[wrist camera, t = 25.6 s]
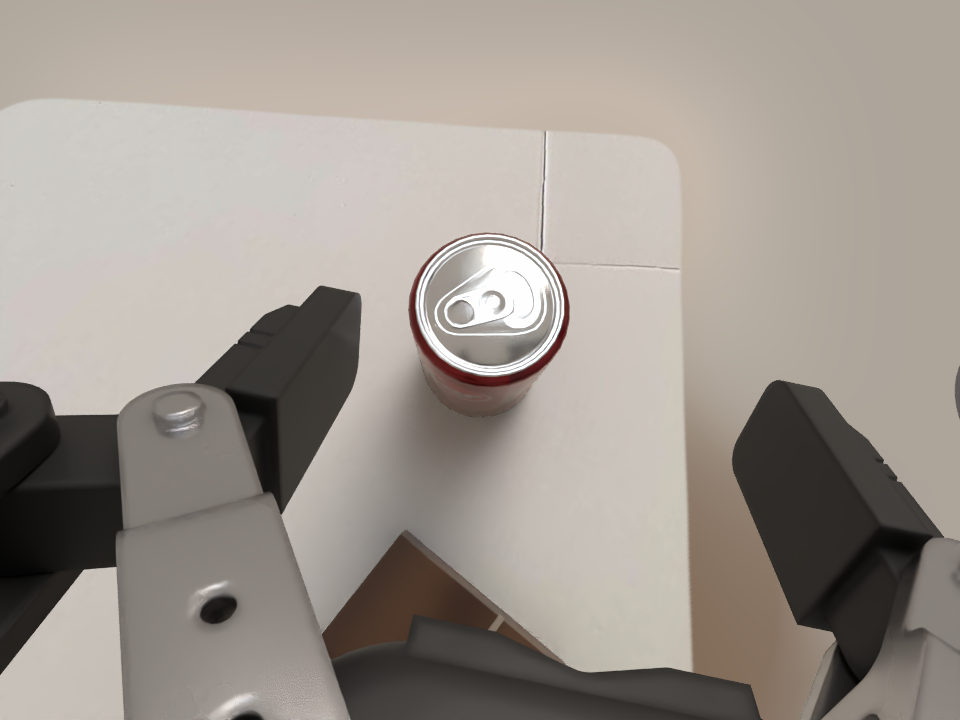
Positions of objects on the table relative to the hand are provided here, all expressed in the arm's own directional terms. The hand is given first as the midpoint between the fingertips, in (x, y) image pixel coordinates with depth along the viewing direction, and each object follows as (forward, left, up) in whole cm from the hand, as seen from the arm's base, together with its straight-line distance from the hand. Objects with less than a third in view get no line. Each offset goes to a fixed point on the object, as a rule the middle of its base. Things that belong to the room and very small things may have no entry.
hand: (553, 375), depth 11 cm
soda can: (+4, -4, -24) cm, 25 cm away
